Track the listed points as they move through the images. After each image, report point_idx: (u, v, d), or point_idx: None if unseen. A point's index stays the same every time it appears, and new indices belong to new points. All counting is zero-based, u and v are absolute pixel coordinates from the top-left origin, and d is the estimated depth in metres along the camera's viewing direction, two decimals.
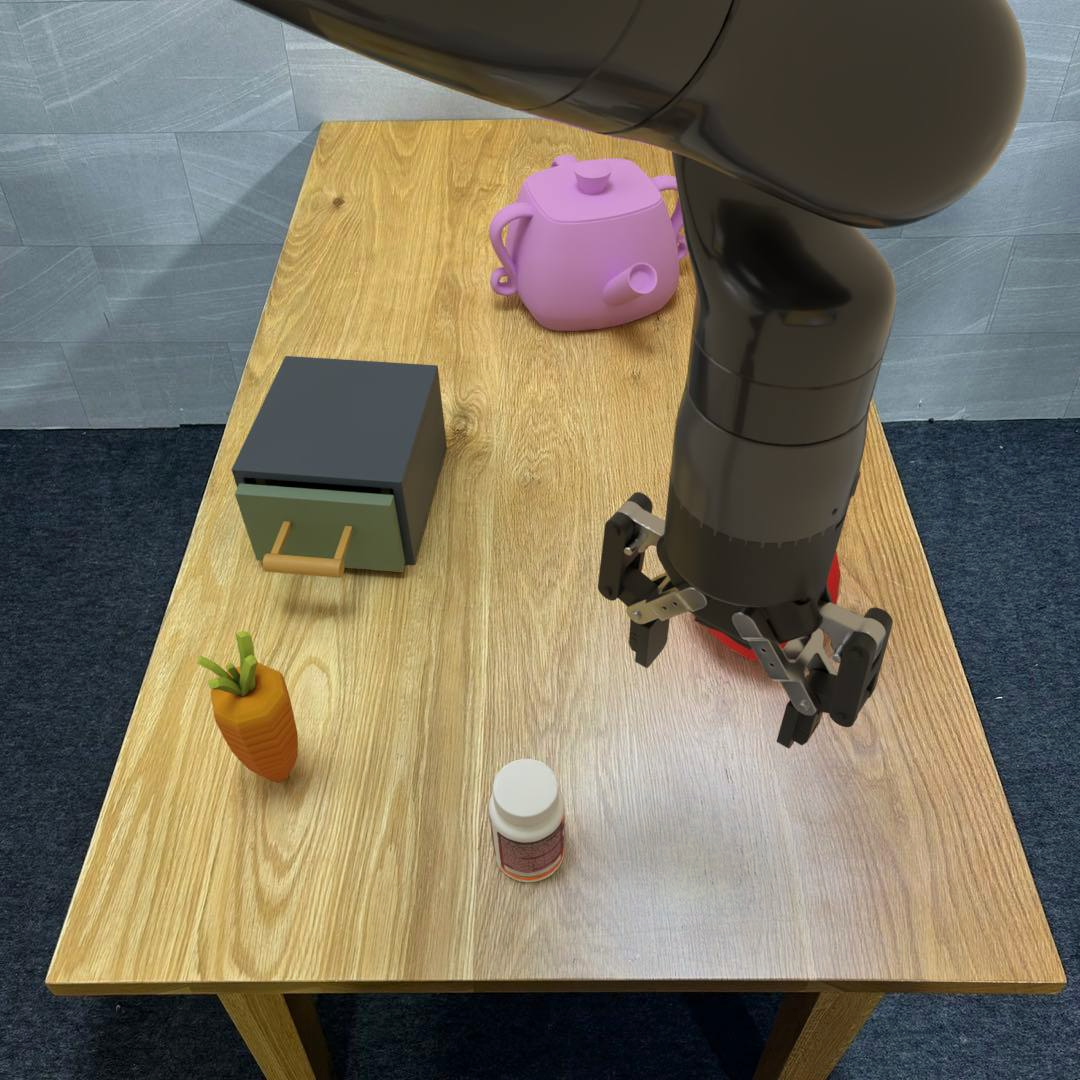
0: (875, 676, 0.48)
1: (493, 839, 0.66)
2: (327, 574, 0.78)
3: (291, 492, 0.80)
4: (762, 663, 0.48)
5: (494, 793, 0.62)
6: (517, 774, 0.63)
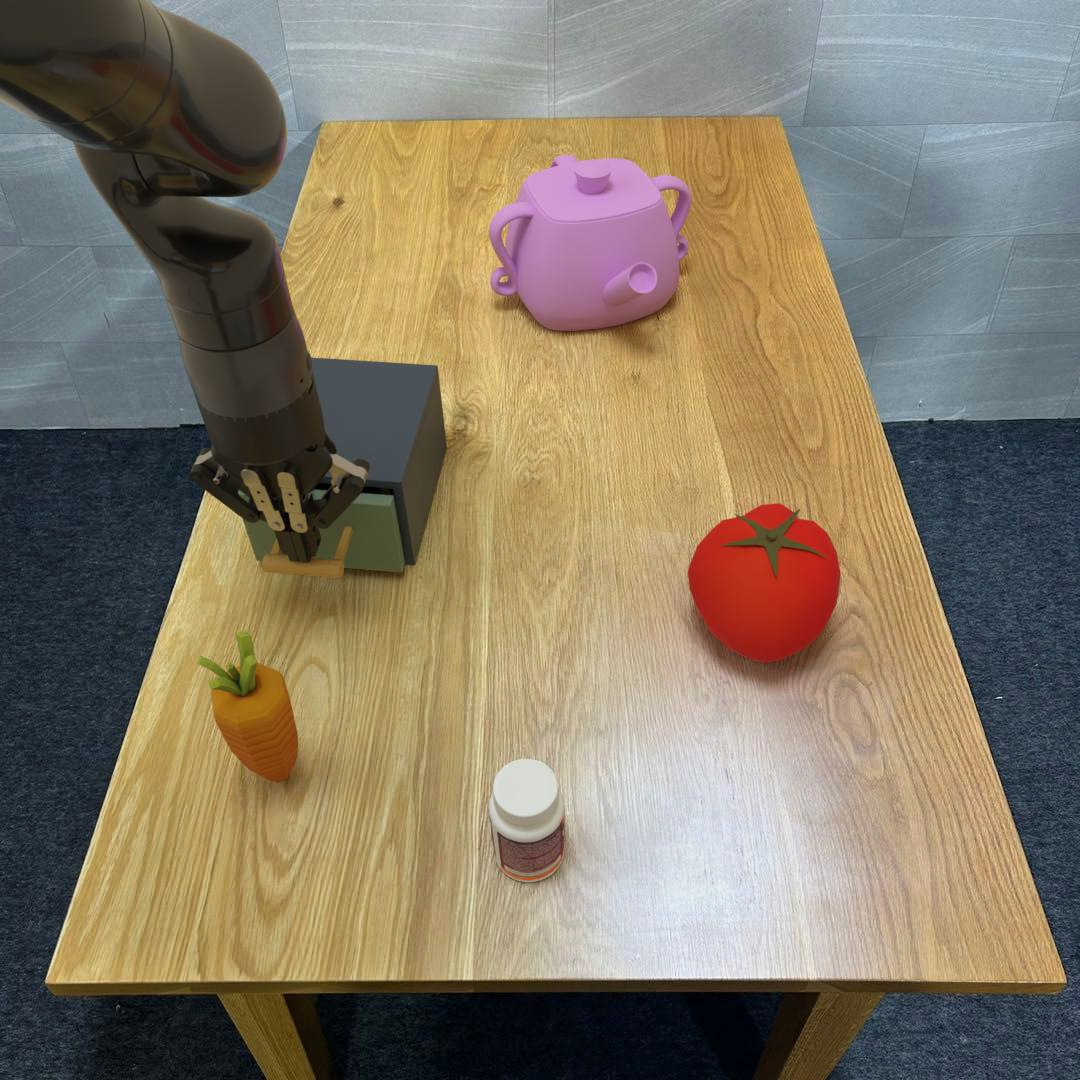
0: None
1: (493, 839, 0.66)
2: (327, 575, 0.78)
3: None
4: (284, 501, 0.72)
5: (494, 793, 0.62)
6: (517, 774, 0.63)
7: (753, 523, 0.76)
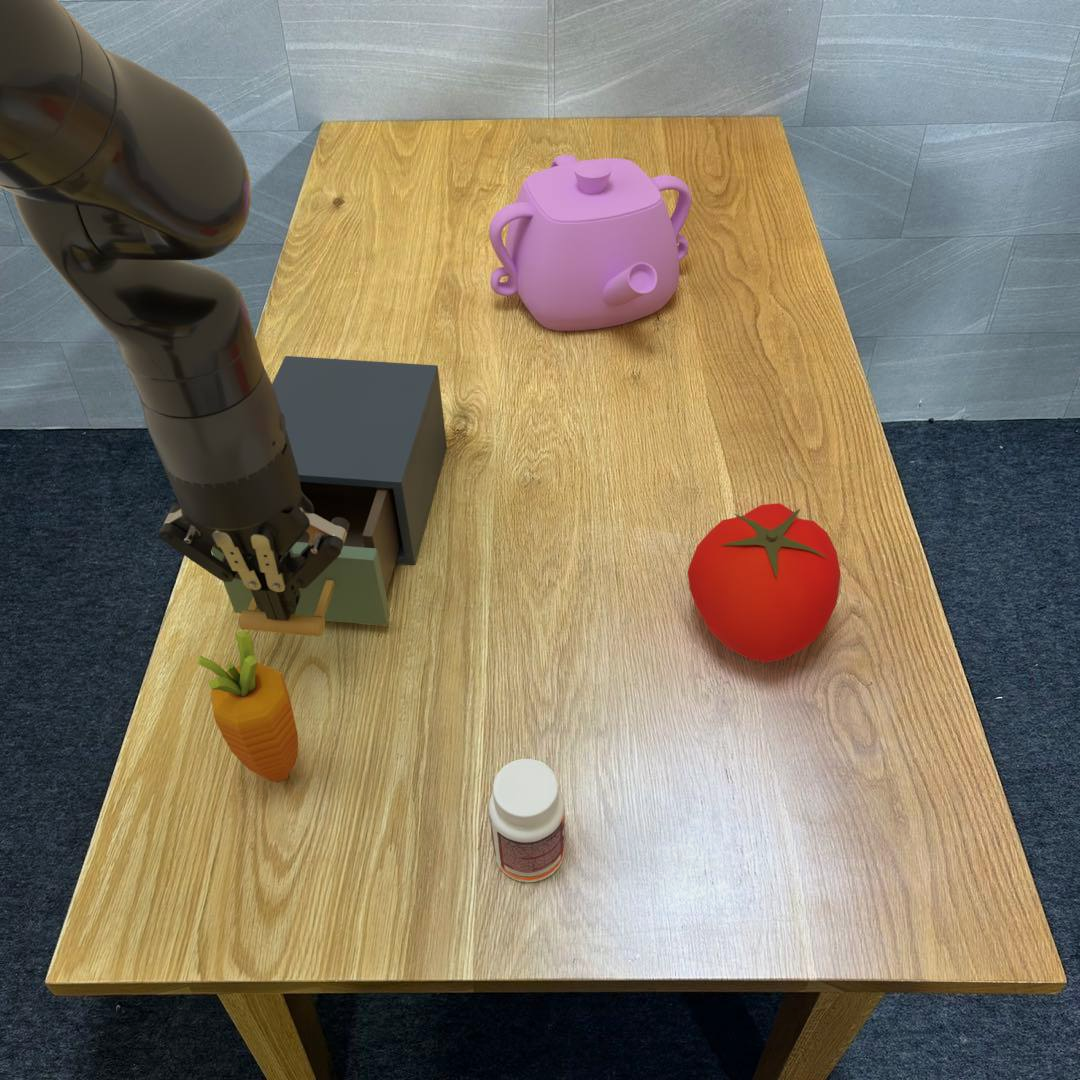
0: None
1: (493, 839, 0.66)
2: (306, 633, 0.74)
3: None
4: (259, 562, 0.68)
5: (494, 793, 0.62)
6: (517, 774, 0.63)
7: (753, 523, 0.76)
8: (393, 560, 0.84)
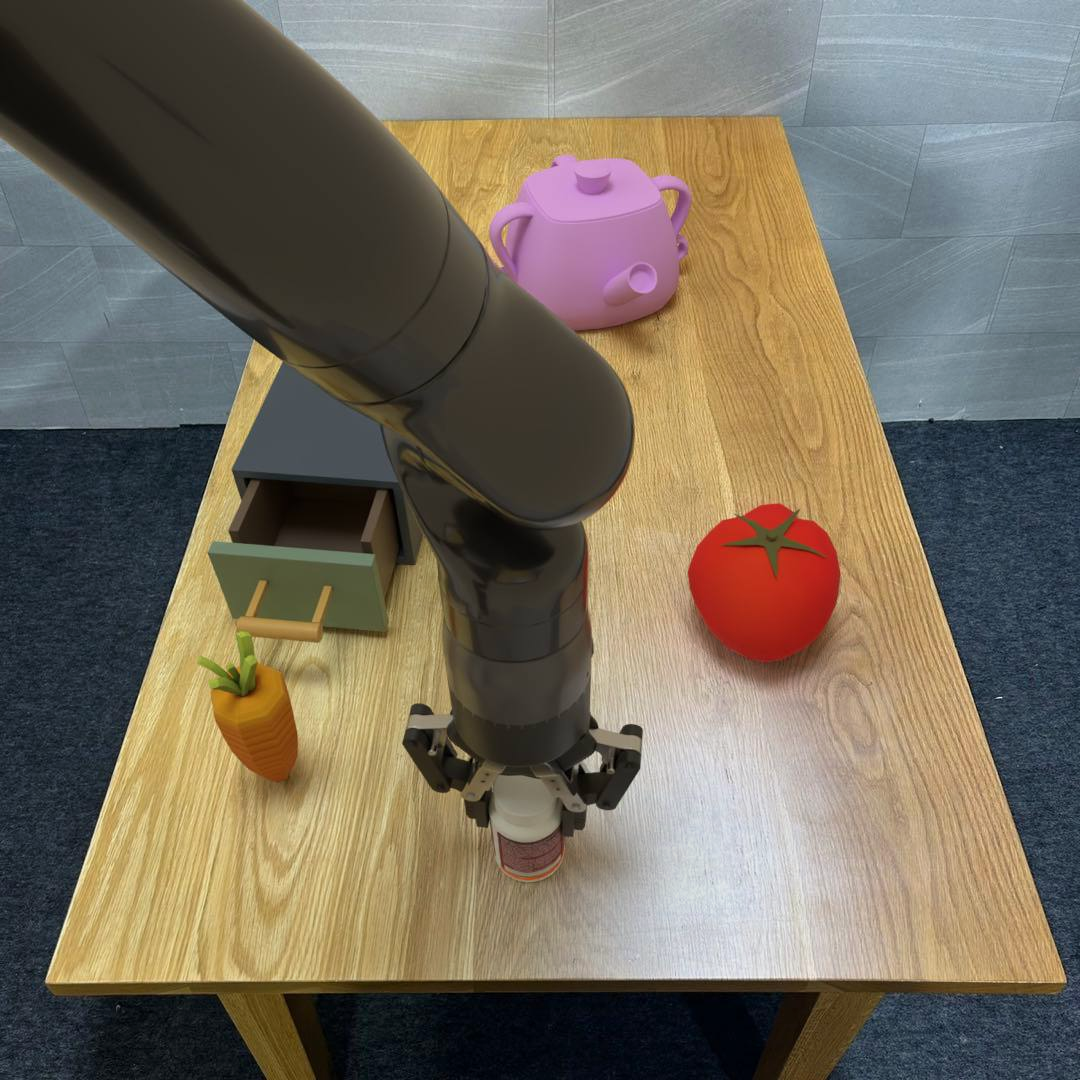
0: None
1: (493, 839, 0.66)
2: (304, 639, 0.74)
3: (267, 551, 0.76)
4: (549, 789, 0.59)
5: (494, 793, 0.63)
6: None
7: (753, 523, 0.76)
8: (391, 565, 0.84)
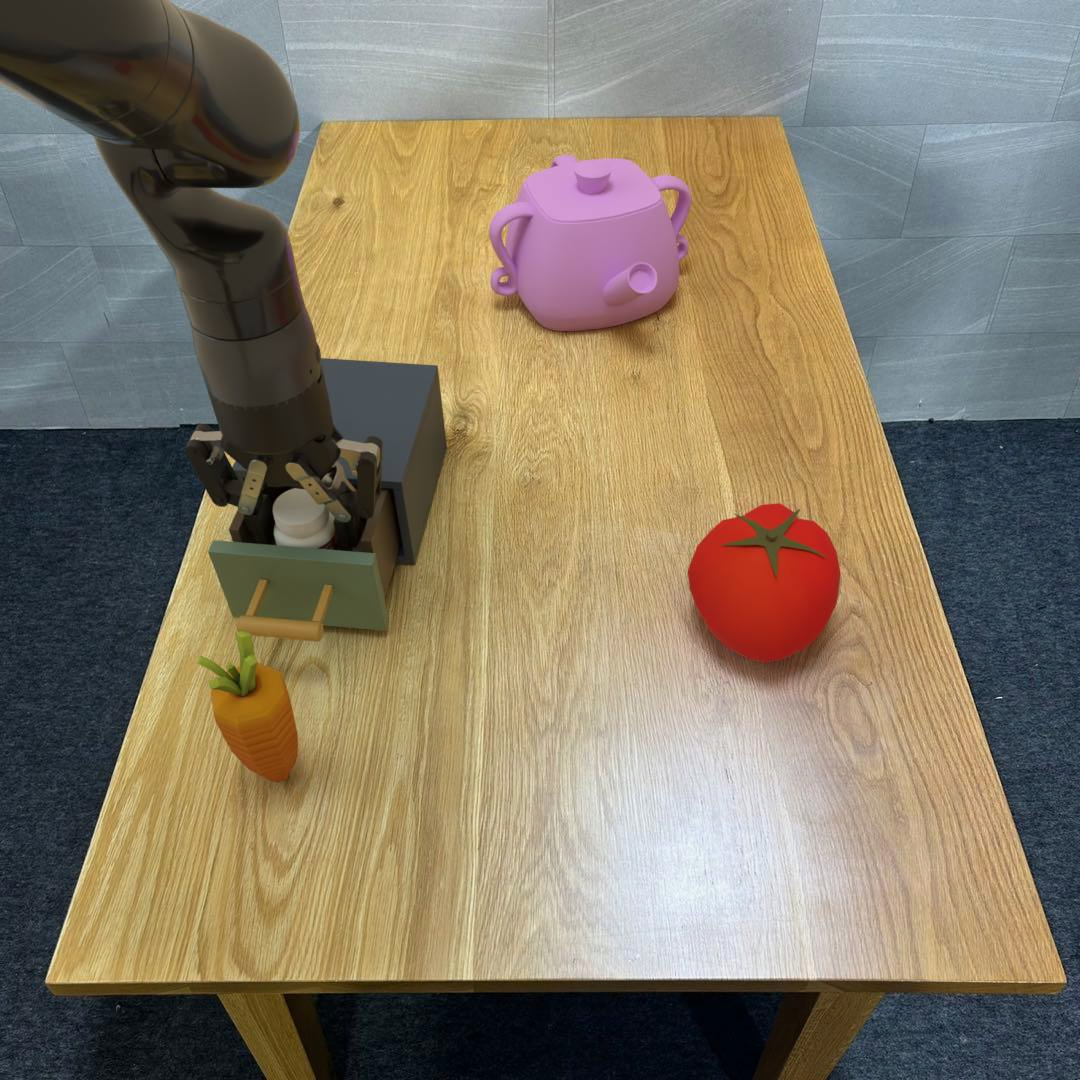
0: (379, 481, 0.75)
1: None
2: (305, 638, 0.74)
3: (267, 550, 0.76)
4: (310, 494, 0.73)
5: (273, 510, 0.76)
6: (294, 497, 0.77)
7: (753, 523, 0.76)
8: (392, 564, 0.84)
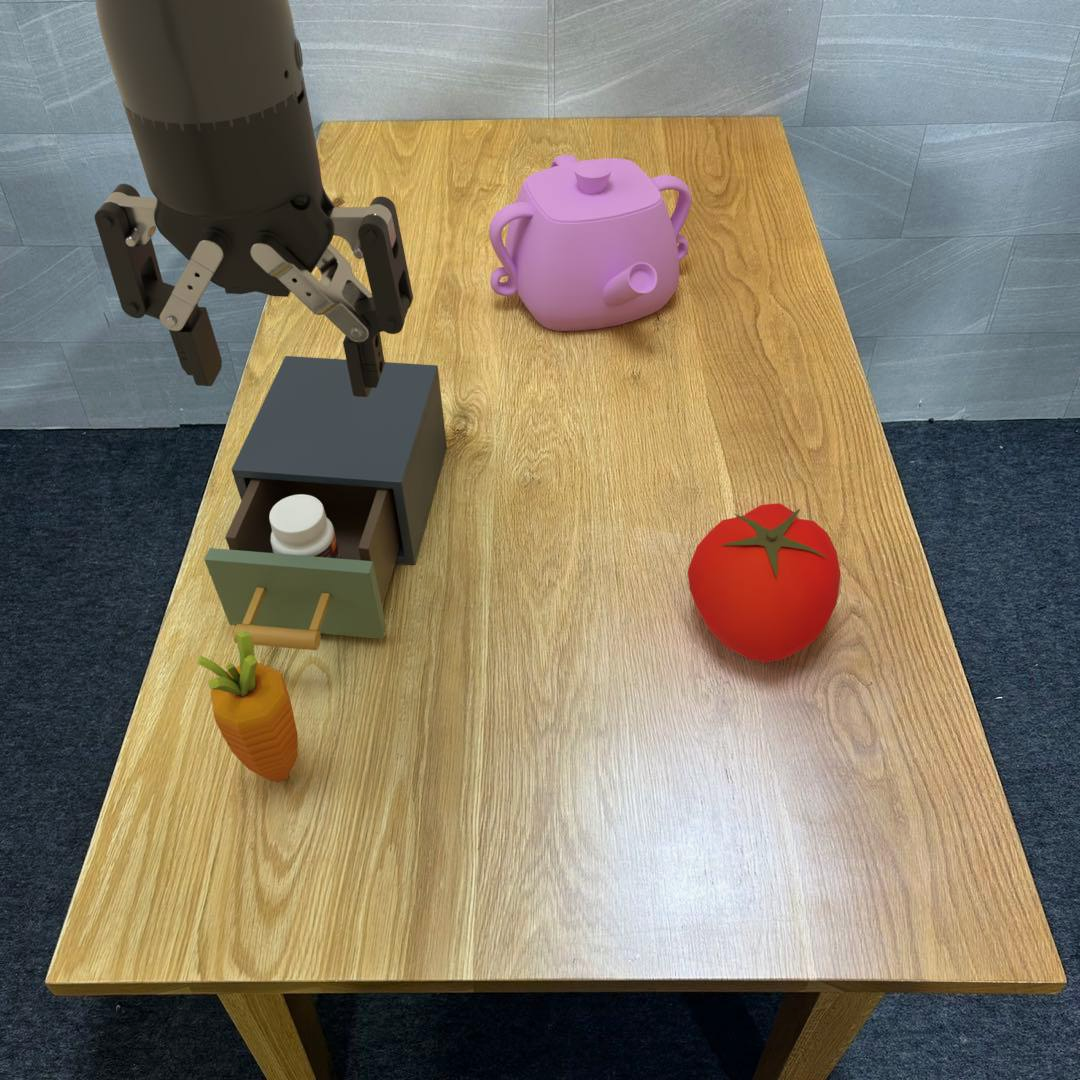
0: (405, 276, 0.50)
1: None
2: (301, 647, 0.73)
3: (264, 558, 0.75)
4: (300, 297, 0.49)
5: (270, 517, 0.76)
6: (291, 505, 0.77)
7: (753, 523, 0.76)
8: (390, 572, 0.83)
